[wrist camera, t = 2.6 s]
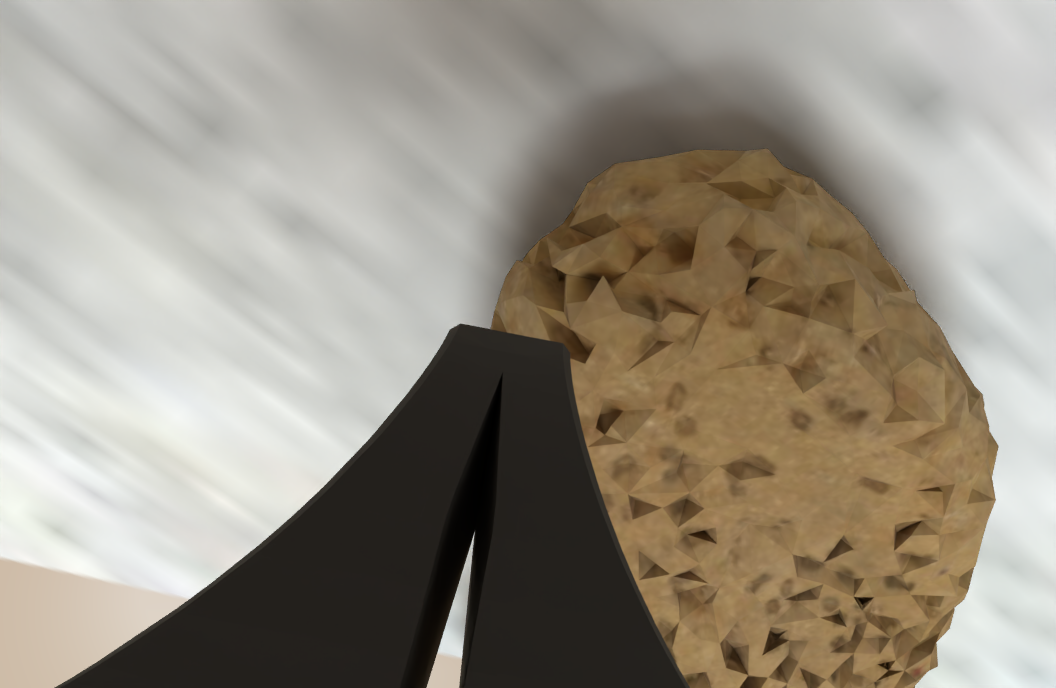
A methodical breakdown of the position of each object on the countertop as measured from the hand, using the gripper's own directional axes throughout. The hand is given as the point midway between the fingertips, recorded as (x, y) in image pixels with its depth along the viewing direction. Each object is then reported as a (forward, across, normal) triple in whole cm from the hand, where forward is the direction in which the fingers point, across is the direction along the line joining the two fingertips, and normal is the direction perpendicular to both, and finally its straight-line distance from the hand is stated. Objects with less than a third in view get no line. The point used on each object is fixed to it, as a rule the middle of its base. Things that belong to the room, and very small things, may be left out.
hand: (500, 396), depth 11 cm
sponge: (+10, -5, +10) cm, 15 cm away
